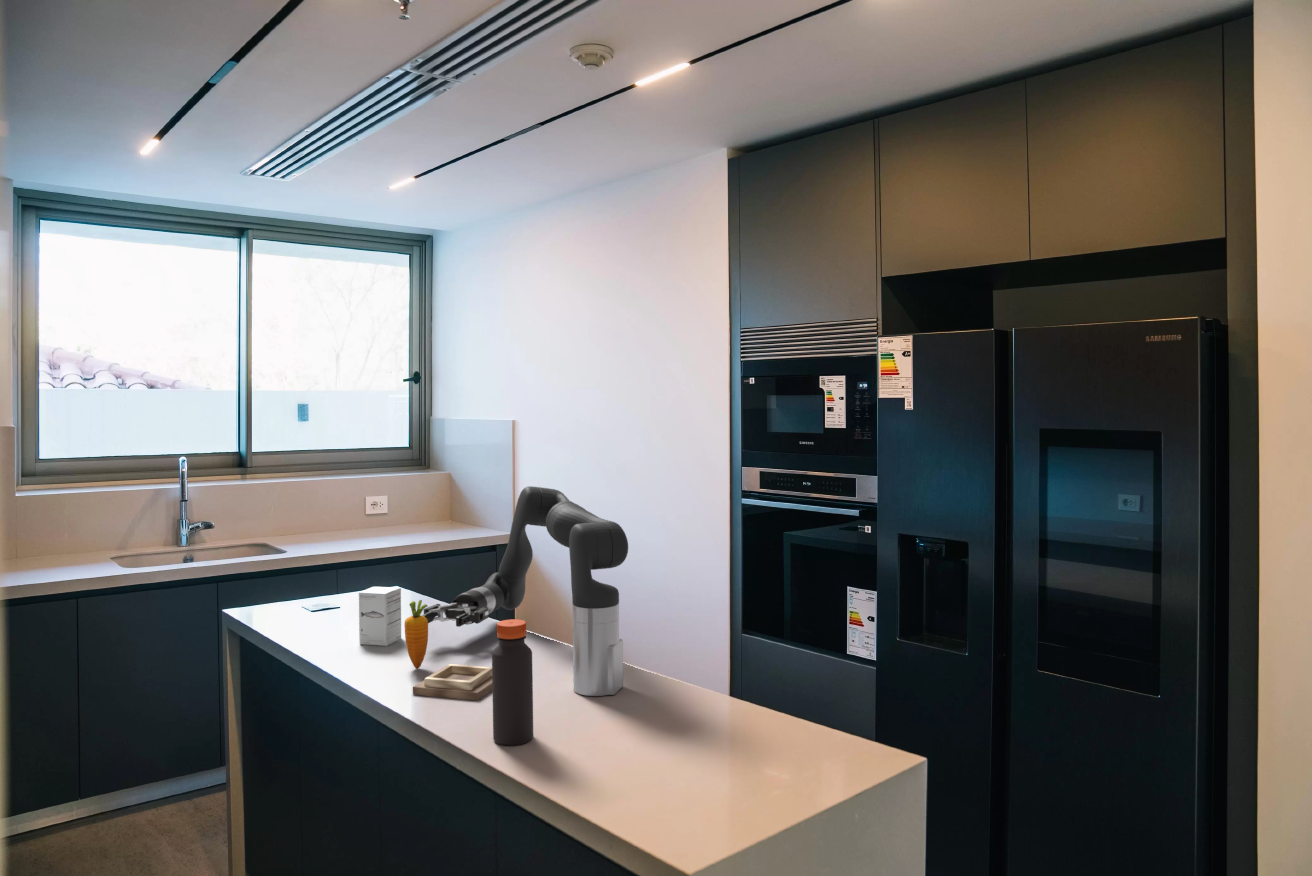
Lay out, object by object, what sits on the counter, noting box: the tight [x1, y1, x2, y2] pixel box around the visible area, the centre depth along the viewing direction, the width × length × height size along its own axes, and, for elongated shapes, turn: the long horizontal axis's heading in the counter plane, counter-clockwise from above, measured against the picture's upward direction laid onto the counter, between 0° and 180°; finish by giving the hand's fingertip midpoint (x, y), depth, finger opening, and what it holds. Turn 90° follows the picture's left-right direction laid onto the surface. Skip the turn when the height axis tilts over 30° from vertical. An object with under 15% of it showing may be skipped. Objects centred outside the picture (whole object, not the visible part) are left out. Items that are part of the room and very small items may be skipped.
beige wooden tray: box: [412, 663, 492, 701], centre depth 180 cm, size 14×12×3 cm
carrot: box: [404, 599, 429, 670], centre depth 192 cm, size 5×5×15 cm
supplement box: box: [358, 586, 402, 647], centre depth 214 cm, size 7×7×13 cm
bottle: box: [491, 618, 534, 747], centre depth 152 cm, size 7×7×20 cm
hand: (440, 621), depth 202 cm, fingers open, 8 cm apart
